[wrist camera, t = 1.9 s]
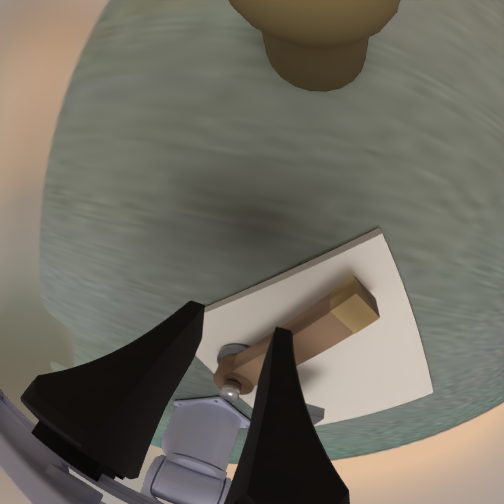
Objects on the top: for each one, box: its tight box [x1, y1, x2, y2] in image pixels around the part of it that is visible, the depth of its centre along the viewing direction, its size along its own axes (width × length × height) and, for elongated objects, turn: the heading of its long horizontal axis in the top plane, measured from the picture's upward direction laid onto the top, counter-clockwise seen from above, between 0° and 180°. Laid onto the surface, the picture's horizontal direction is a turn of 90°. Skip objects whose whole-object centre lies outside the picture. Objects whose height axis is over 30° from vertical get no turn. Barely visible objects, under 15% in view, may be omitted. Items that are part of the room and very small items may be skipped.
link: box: [213, 275, 380, 395], centre depth 19 cm, size 15×4×2 cm, turn 139°
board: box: [195, 228, 433, 426], centre depth 23 cm, size 20×21×1 cm
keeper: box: [217, 343, 325, 433], centre depth 22 cm, size 10×7×5 cm
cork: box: [229, 0, 400, 92], centre depth 8 cm, size 6×6×11 cm
